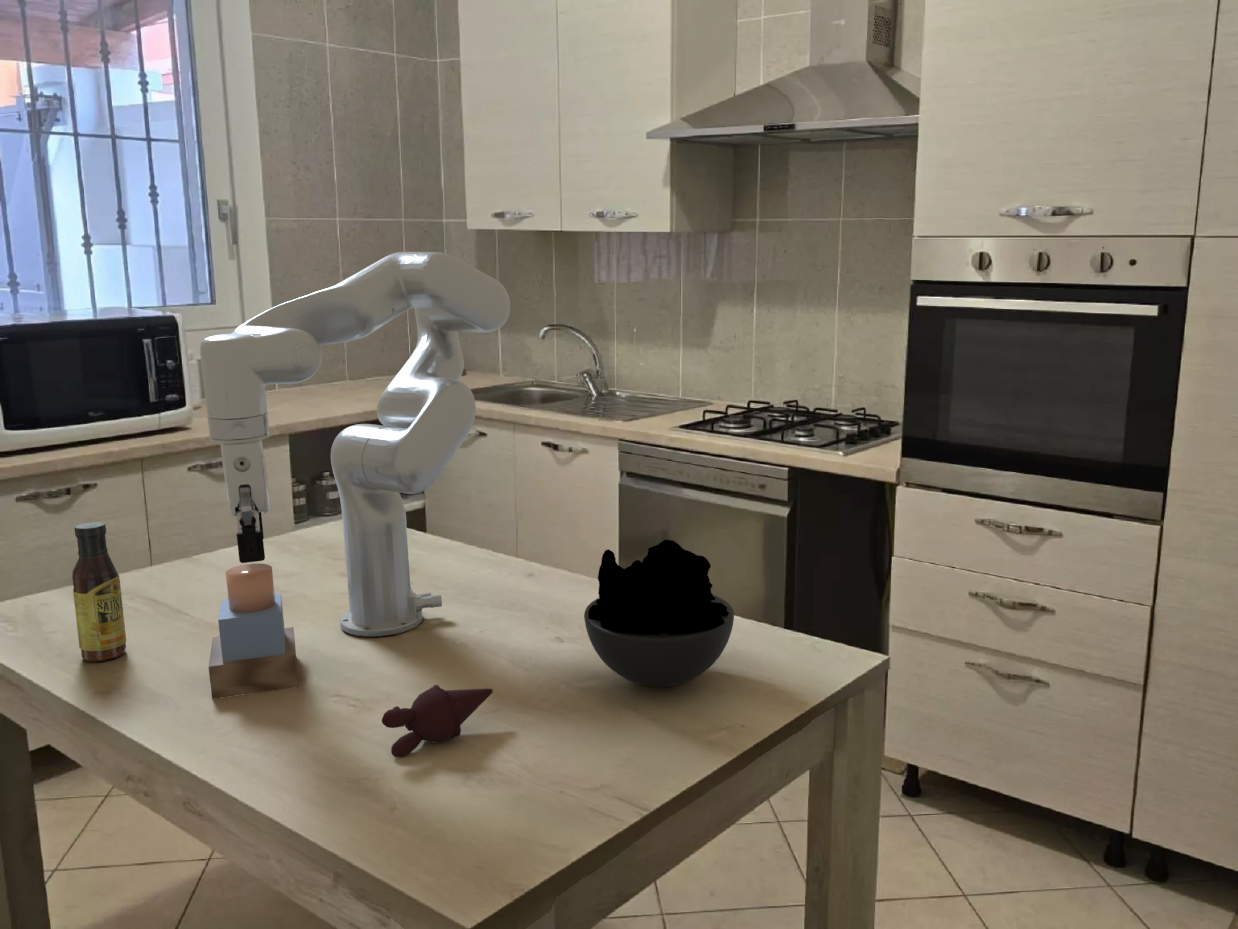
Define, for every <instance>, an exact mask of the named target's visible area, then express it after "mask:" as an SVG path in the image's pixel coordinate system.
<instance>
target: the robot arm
mask: <svg viewBox="0 0 1238 929" xmlns="http://www.w3.org/2000/svg"><path fill="white" fill-rule="evenodd" d="M509 296H510V295H509V293H508V291H507V289H506V288H505V286H504V284H502V283H501V282H500V281H499V280H497V279H496V278H494V277H492V276H491V275H489V274H487V273H485V272H483V271H481V270H479V269H477V268H475V267H474V266H472V265H470V264H469V263H466V262H464V261H462V260H461V259H459V258H457V257H455V256H453V255H450V254H447V253H444V252H439V251H398V252H393V253H391V254H388V255H387V256H384V257H383V258H381V259H379V260H377V261H375V262H373V263H372V264H370V265H368V266H366V267H364V268H363V269H361V270H359V271H358V272H357V273H355V274H353V275H351V276H349V277H347V278H345V279H344V280H342V281H340V282H338V283H337V284H334V285H332V286H330V287H327V288H324V289H321V290H318V291H314V292H312V293H309V294H307V295H304V296H300V297H298V298H295V299H292V300H289V301H286V302H283V303H280V304H278V305H276V306H273V307H271V308H269V309H267V310H265V311H263V312H261V313H259V314H258V315H255V316H254V317H252V318H250V319H248V320H247V321H244V323H242V324H240V325H239V326H237V327H236V328H235V329H234V330H233V331H232V332H231V333H223V334H221V333H220V334H215V335H211V336H208V337H206V338H204V339H202V341H201V342H200V346H199V347H200V348H199V352H200V353H199V354H200V362H201V372H202V379H203V387H204V397H205V407H206V414H207V422H208V423H207V425H208V434H209V442H210V443H213V444H216V445H217V444H218V445H220V452H221V453H220V455H221V460H222V468H223V470H222V471H223V476H224V484H225V489H226V490H225V491H226V494H227V495H226V496H227V499H228V504H229V505H228V506H229V508H230V509H229V510H230V514H231V515H232V516H233V517H235V518H236V523H237V524H236V525H237V532H236V542H237V551H238V558H239V559H238V560H239V563H241V564H249V563H255V562H256V563H257V562H263V561H265V558H266V554H265V546H264V539H265V538H264V527H263V518H262V516H263V515H262V512H264V514H265V515H266V514H268V513H269V512H270V511H271V510H270V498H269V497H270V496H269V488H268V476H267V475H268V474H267V466H266V459H265V458H266V457H265V452H264V446H263V440H266V439H269V438H270V426H269V416H268V408H267V406H268V404H267V398H266V397H267V396H266V386H267V385H282V384H283V385H286V384H287V385H290V384H291V385H293V384H299V383H302V382H305V381H307V380H310V379H311V378H312V377H313V376H314V375H316V373H317V372H318V370H320V367H321V365H322V361H323V351H322V348H321V346H324V345H333V344H340V343H346V342H352V341H356V340H359V339H364V338H366V337H368V336H370V335H371V334H373V333H374V332H376V331H377V330H379V329H380V328H382V327H383V326H385V325H386V324H388V323H390V322H392V321H393V320H394V319H396V318H398V317H400V316H401V315H402V314H404V313H405V312H407V311H410V310H413V309H414V314H415V316H414V317H415V321H416V327H417V331H416V332H417V342H416V346H415V349H414V350H413V352H412V353H411V355H410V356H409V358H408V359H407V361H406V362H405V363H404V364H403V365H402V367H401V368H400V370H399V371H398V372H397V373H396V374H395V376H394V377H393V378H392V380H390V383H389V384H388V385H387V386H386V387H385V389H384V390H383V391H382V393H381V395H380V396H379V398H378V402H377V406H376V414H377V415H376V416H377V418H378V421H379V422H380V424H382V425H380V424H374V423H373V424H371V423H360V424H359V423H357V424H354V425H350V426H348V427H345V428H344V429H342V430H341V431H340V432H339V433H338V434H337V435H336V437H335V438H334V441H333V443H332V445H331V448H330V463H331V469H332V473H333V476H334V480H335V483H336V486H337V487H336V488H337V490H338V495H339V501H340V506H341V508H340V509H341V517H342V527H343V528H342V529H343V542H344V553H345V568H346V569H345V570H346V577H347V579H346V580H347V582H346V583H347V591H348V593H347V594H348V603H349V604H348V605H349V610H348V611H346V612H345V613H344V614H343V615H342V616H341V617H340V620H339V622H340V628H341V629H342V631H344V632H345V633H347V634H350V635H354V636H358V637H368V638H369V637H371V638H372V637H376V638H377V637H386V636H392V635H397V634H402V633H404V632H407V631H410V630H412V629H414V628H416V627H417V626H419V624H420V623H421V622H422V621H423V609H426V608H427V609H428V608H439V607H440V608H441V607H443V601H442V600H443V598H442V595H441V594H433V595H432V592H431V591H428V592H422V593H416V592H414V590H413V589H412V587H411V577H410V575H411V574H410V561H409V546H408V544H409V543H408V534H407V533H408V532H407V530H408V529H407V513H406V508H405V504H404V502H403V499H402V496H401V494H409V495H410V494H411V495H414V494H419V493H422V492H424V491H426V490H427V489H429V488H430V487H431V486H432V485H433V484H434V483H435V482H436V481H437V480H438V478H439V476H441V475H442V473H443V471H444V470H445V469H446V467H447V465H449V463H450V462H451V460H452V459H453V457H454V456H455V455H456V453H457V451H458V450H459V448H460V447H461V446H462V444H463V443H464V442H465V440H466V438H467V437H468V435H469V434H470V432H471V430H472V427H473V425H474V422H475V417H476V410H477V409H476V399H475V396H474V394H473V391H472V390H471V389H470V387H469V386H468V385H466V384H465V383H464V382H462V381H460V379H461V378H462V375H463V372H464V369H465V360H464V356H463V350H462V347H461V343H460V339H459V334H458V332H464V333H465V332H466V333H467V332H468V333H484V334H485V333H486V334H487V333H492V332H496V331H498V330H500V329H501V328H502V327H504V325H505V324H506V323H507V321H508V319H509V318H510V313H511V300H510V299H511V298H510V297H509Z"/></svg>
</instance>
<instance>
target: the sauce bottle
mask: <svg viewBox="0 0 1238 929" xmlns="http://www.w3.org/2000/svg"><path fill="white" fill-rule="evenodd" d="M106 534H107V528H106V523H104V522H103V521H93V522H90V521H89V522H85V523H79V524H76V525H75V526H74V535H75V537H76V541H77V547H78V548H77V550H78V552H77V555H78V559H77V561H76V563H75V566H74V568H73V570H72V575H71V576H72V586H73V589H72V593H73V602H74V609H75V610H74V611H75V612H74V613H75V618H76V619H75V620H76V627H77V628H76V629H77V636H78V638H77V639H78V647H79V649H81V650H80V651H81V652H80V653H81V658H82V660H84V661H86V662H92V663H93V662H94V663H98V662H99V663H101V662H103V661H104V662H105V661H108V660H109V661H110V660H113V659H116V658H119V657H121V656H122V655H123V654H124V653H125V652H126V649H127V644H126V643H127V635H126V625H125V616H124V607H123V597H122V589H121V588H122V587H121V579H120V578H121V577H120V575H119V572H118V571H117V569H116V566H115V564H114V563H113V560H112V558H111V557H110V555H109V552H108V550H109V549H108V548H107V540H106Z"/></svg>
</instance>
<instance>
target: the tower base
mask: <svg viewBox="0 0 1238 929" xmlns="http://www.w3.org/2000/svg"><path fill="white" fill-rule="evenodd" d="M284 629H285V654H284V655H276V656H268V657H260V658H252V659H245V660H237V661H229V662H223V660H222V650H221V641H220V635H219V636H212V639H211V640H212V641H211V646H210V647H211V648H210V652H209V653H210V655H209V659H208V660H209V662H208V674H209V683H210V684H209V685H210V691H211V699H212V698H217V699H221V698H220V697H224V698H230V697H229V696H231V697H237V696H236V695H238V696H243V695H242V694H245V695H251V693H253V694H257V693H258V694H259V693H268V692H272V690H274V691H280V690H286V689H294V688H298V687H299V682H298V681H299V680H298V664H297V663H298V662H297V652H296V640H295V631H294V630H295V629H294V627H284Z"/></svg>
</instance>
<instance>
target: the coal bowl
mask: <svg viewBox="0 0 1238 929" xmlns="http://www.w3.org/2000/svg"><path fill="white" fill-rule="evenodd" d="M647 550H648V551H647V554H646V556H645V557H643V559H642V561H641V560H639V559H636V560H634V561H633V562H632V563H631V564H630V565H629V566H627V567H625V568H624V567H622V566H620V565H619V564H618V563H617V561H616V556H615V555H616V554H615V553H614V551H612V550H611V549H609V548H608V549H606V550H604V552H603V554H602V555H601V561H600V562H601V563H600V566H599V569H598V573H597V574H598V575H597V581H598V592H597V593H598V598H596V599H594V600H593V601H591V602H590V603H589V604H588V605H587V606H586V608H585V610H584V614H583V616H584V625H585V629H586V632H587V636H588V638H589V641H590V643H591V646H592V647H593V649H594V651H595V652H596V654H597V655H598V657H599V658H600V660H601V661H602V662H603V663H604V665H606V666H607V667H608V668H609V669H610V670H611V671H613V672H614V673H615V674H617V675H619V676H620V677H621V678H623V679H625V680H627V681H629V682H632V683H634V684H636V685H640V686H645V687H651V688H667V687H668V688H669V687H674V686H679V685H682V684H684V683H688V682H690V681H693V679H696V678H697V677H699V676H700V675H702V674H704V673H705V672H706V671H708V670H709V669H710V668H711V667H712V666H713V665H714V664H715V663H716V661H718V659H719V658H720V657H721V655H722V654H723V652H724V650H725V649H726V646H727V644H728V642H729V640H730V638H731V634H732V631H733V626H734V620H735V612H734V609H733V607H732V605H731V604H730V603H729V602H728V601H726V600H725V599H723V598H722V597H720V596H718V595H715V594H713V593H712V588H713V584H712V583H711V582H710V577H709V575H708V574H709V571H710V569H711V566H712V565H711V563H710V561H709V560H708V559H707V558H706V556H704V555H698V554H696V553H694V552H692V551H690V550H686V549H684V548H683V547H682V546H681V545H680V544H679V543H678V542H677V541H675V540H672V539H664V540H662V541H661V542H659V543H658V544H656V545H653V546H651V547H648V549H647Z"/></svg>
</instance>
